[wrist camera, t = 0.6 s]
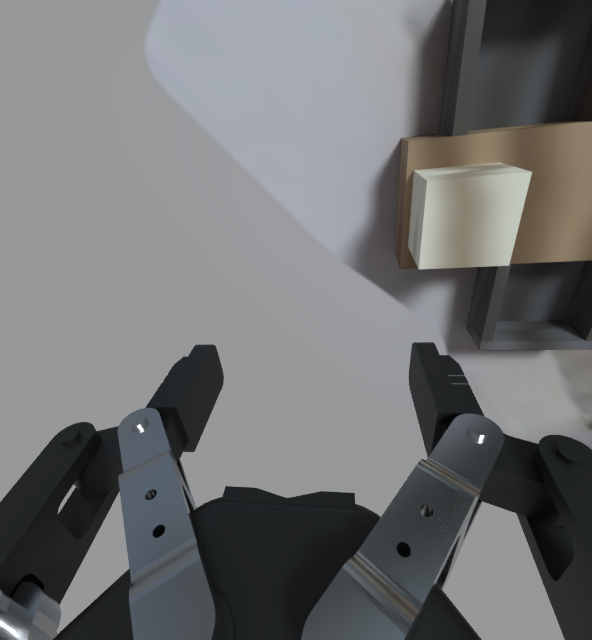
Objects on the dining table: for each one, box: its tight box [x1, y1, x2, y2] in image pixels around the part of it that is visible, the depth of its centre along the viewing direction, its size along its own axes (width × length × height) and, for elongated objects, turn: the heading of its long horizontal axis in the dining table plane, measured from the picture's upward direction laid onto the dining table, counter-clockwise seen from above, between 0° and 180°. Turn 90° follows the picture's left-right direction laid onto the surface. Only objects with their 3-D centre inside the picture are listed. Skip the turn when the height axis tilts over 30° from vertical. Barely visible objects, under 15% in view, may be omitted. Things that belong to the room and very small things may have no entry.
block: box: [408, 162, 532, 269], centre depth 24 cm, size 6×6×5 cm
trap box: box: [395, 0, 592, 350], centre depth 25 cm, size 27×28×7 cm
